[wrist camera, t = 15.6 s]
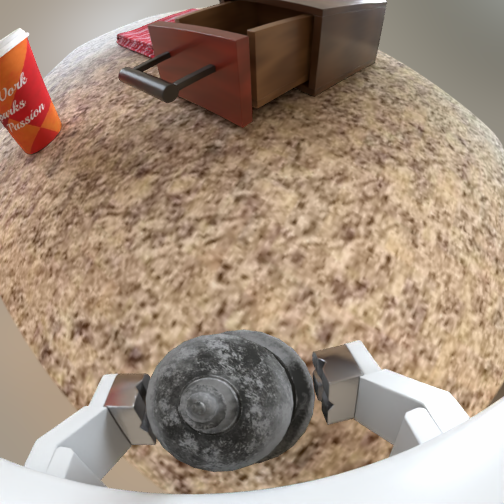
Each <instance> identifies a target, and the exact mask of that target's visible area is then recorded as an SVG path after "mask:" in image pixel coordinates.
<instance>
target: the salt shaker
mask: <svg viewBox="0 0 504 504" xmlns="http://www.w3.org/2000/svg"><path fill="white" fill-rule="evenodd" d="M314 400H315V394H314V387H313V381H312V378H311V376H310V373H309V371H308V369H307V367H306V364H305V363H304V362H303V360H302V359H301V358H300V357H299V355H298V354H297V353H296V352H295V351H294V349H292V348H291V347H289V346H288V345H287V344H285V343H284V342H282V341H281V340H280V339H278V338H275V337H273V336H270V335H268V334H265V333H263V332H257V331H249V330H237V331H227V332H223V333H221V334H214V335H204V336H199V337H196V338H194V339H191V340H188V341H185V342H183V343H182V344H180V345H179V346H177V347H176V348H174V349H173V350H171V351H170V352H168V354H167V355H166V356H165V357H164V358H163V359H162V360H161V361H160V363H159V364H158V365H157V366H156V368H155V370H154V372H153V374H152V376H151V378H150V380H149V384H148V389H147V394H146V409H147V417H148V420H149V423H150V426H151V429H152V431H153V433H154V435H155V436H156V438H157V439H158V441H159V442H160V444H161V445H162V446H163V448H165V449H166V450H167V451H168V452H169V453H170V454H171V455H173V456H174V457H175V458H176V459H177V460H179V461H181V462H183V463H185V464H188V465H190V466H192V467H194V468H198V469H202V470H207V471H212V472H217V471H233V470H237V469H240V468H243V467H246V466H249V465H252V464H254V463H261V462H264V461H267V460H269V459H272V458H275V457H278V456H279V455H281V454H282V453H284V452H285V451H287V450H288V449H289V448H291V447H292V446H294V444H295V443H296V442H297V441H298V440H299V438H300V437H301V436H302V435H303V434H304V432H305V431H306V429H307V426H308V424H309V422H310V420H311V417H312V415H313V408H314Z"/></svg>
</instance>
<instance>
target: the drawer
mask: <svg viewBox="0 0 504 504" xmlns="http://www.w3.org/2000/svg"><path fill="white" fill-rule="evenodd" d="M314 16H315V15H313V14H309V13H305V12H301V11H297V10H292V9H288V8H283V7H278V6H273V5H267V4H262V3H255V2H249V1H241V0H232V1H228V2H224V3H221V4H217V5H213V6H210V7H207V8H203V9H200V10H197V11H194V12H191V13H188V14H185V15H182V16H179V17H176V18H175V23H174V22H165V21H156V22H154V23H151V24H149V25H147V26H148V30H149V34H150V38H151V42H152V47H153V51H154V55H155V57H154V58H152V59H150V60H148V61H146V62H144V63H142V64H140V65H138V66H136V67H134V68H130V67H125V68H123V69H122V70H121V71H120V72H119V76H118V77H119V80H120V81H121V82H123V83H125V84H128V85H130V86H132V87H134V88H136V89H139V90H141V91H143V92H145V93H147V94H149V95H151V96H153V97H155V98H158V99H160V100H162V101H164V102H166V103H170V102H172V101H174V100H175V99H176V98H177V96H179V97H182V98H184V99H186V100H188V101H190V102H192V103H194V104H197V105H199V106H201V107H203V108H205V109H207V110H209V111H211V112H213V113H215V114H217V115H219V116H221V117H223V118H225V119H227V120H229V121H231V122H232V123H234V124H236V125H238V126H240V127H242V128H243V127H245V126H246V125H248V124H250V123H251V122H252V121H253V116H252V106H253V107H255V108H257V109H258V108H260V107H261V106H263V105H265V104H266V103H268V102H270V101H271V100H273V99H275V98H277V97H278V96H280V95H282V94H284V93H285V92H287V91H289V90H291V89H293V88H295V87H296V86H298V85H300V84H302V83H304V82H306V81H308V80H309V76H310V65H311V54H312V42H313V29H314ZM155 65H157V66H158V70H159V74H160V78H161V79H160V78H157V77H155V76H152V75H149V74H147V73H144V72H143V71H145V70H147V69H149V68H151V67H153V66H155Z"/></svg>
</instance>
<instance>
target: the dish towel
mask: <svg viewBox="0 0 504 504" xmlns="http://www.w3.org/2000/svg"><path fill="white" fill-rule="evenodd" d="M197 10H200V9H189V10H186V11H183V12H180V13H177V14H173V15H170V16H168V17H165V18H162V19H160V20H157V21H165V22H174V23H175V18H176V17H179V16H182V15H185V14H188V13H191V12H194V11H197ZM155 22H156V21H155ZM152 23H154V22H152ZM150 24H151V23H150ZM147 25H149V24H147ZM147 25H145V26H142V27H140V28H138V29H135V30H132V31H129V32H124V33H120V34H118V35H117V40H118V41H116V42H117V43H118V44H119V45H120V46H123V47H126V48H128V49H130V50H132V51H135V52H138V53H140V54H143V55H145V56H146V57H149V58H154V57H155V55H154V51H153V47H152V42H151V38H150V34H149V30H148V26H147Z"/></svg>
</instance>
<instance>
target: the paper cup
mask: <svg viewBox="0 0 504 504" xmlns="http://www.w3.org/2000/svg"><path fill="white" fill-rule="evenodd" d="M27 36H29V33H25V32H24V30H21V28H19V29H17V30H15V31H13V32H12V33H10V34H9V35H7V36H6V37H4V38H3V39H2V40H0V121H1V122H2V124H3V125H4V127H5V128H6V129H7V130H8V132H9V133H10V134H11V136H12V137H13V138H14V139H15V141H16V142H17V143H18V144H19V145H20V147H21V148H22V149H23V150H24V151H25V152H26V153H27V154H33V153H36V152H38V151H40V150H41V149H43V148H44V147H46V146H47V145H48V144H49V143H50V142H51V141H52V140H53V139H54V138H55V137H56V136H57V134H58V133H59V131H60V129H61V122H60V119H59V117H58V114H57V112H56V110H55V107H54V105H53V103H52V101H51V98H50V96H49V93H48V91H47V89H46V86H45V84H44V81H43V79H42V77H41V74H40V72H39V69H38V66H37V64H36V61H35V58H34V56H33V53H32V50H31V47H30V45H29V41H28V39H27Z"/></svg>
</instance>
